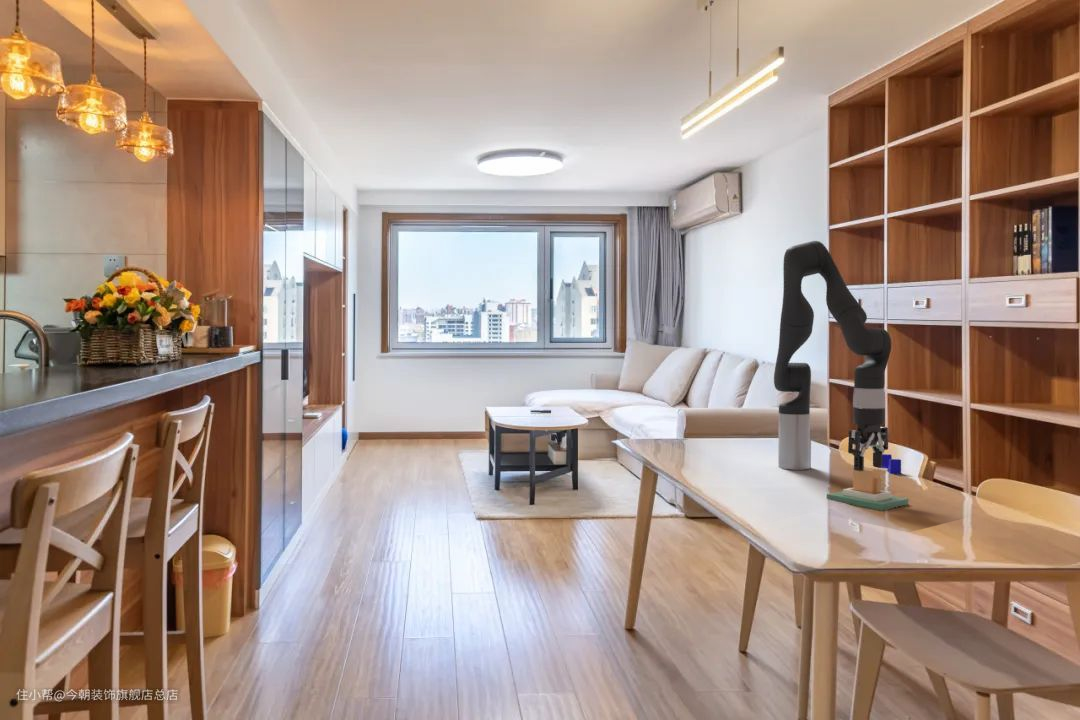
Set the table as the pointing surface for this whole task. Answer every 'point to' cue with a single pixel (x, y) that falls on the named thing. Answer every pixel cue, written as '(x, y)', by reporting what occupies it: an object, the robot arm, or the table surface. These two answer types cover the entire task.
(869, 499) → the board
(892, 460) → the cable clip
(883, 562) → the table surface
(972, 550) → the table surface
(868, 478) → the tan rectangular block
